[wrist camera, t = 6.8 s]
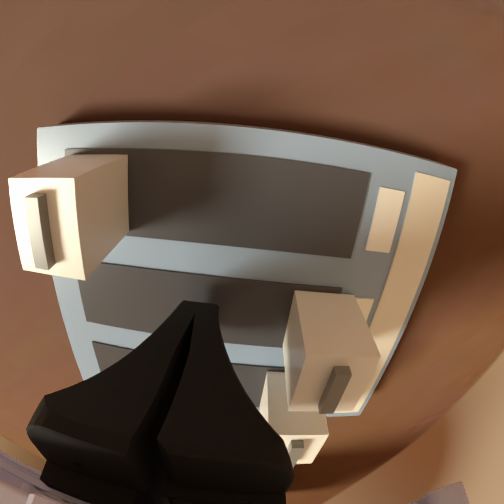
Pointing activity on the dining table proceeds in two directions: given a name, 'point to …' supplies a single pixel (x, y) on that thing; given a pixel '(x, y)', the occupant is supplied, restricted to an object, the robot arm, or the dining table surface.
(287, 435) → the tab
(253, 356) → the switch bank
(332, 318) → the tab middle
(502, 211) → the dining table surface
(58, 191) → the tab
